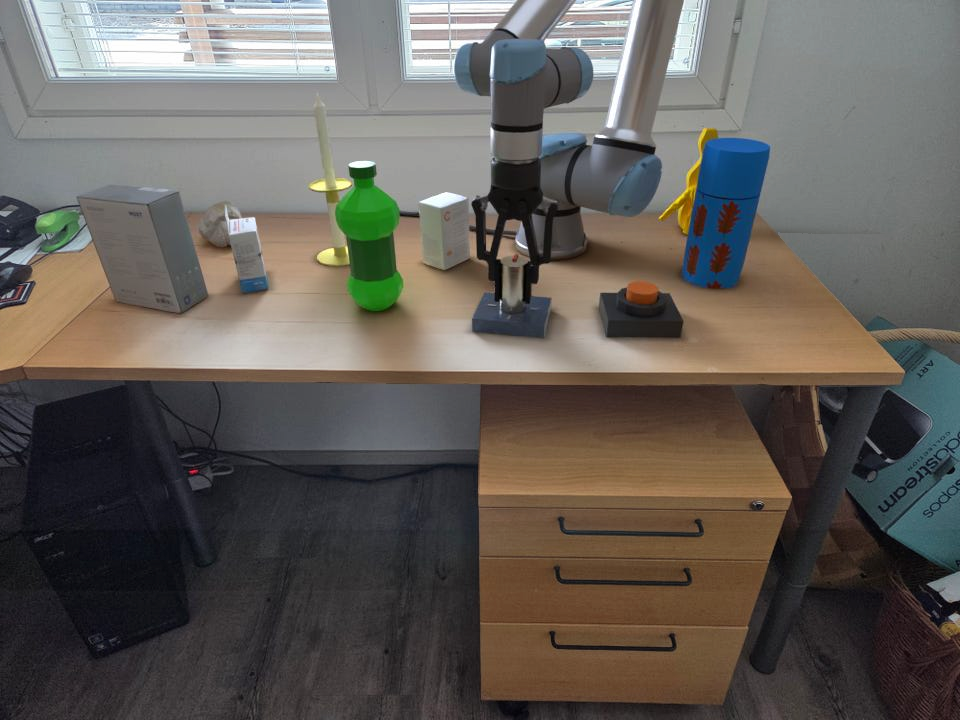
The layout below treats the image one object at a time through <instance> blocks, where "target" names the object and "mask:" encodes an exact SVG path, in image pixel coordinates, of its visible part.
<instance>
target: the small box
mask: <svg viewBox="0 0 960 720" xmlns="http://www.w3.org/2000/svg"><path fill="white" fill-rule="evenodd" d="M469 201H470V200H469V197H467V196H463V195H460V194H456V193H452V192H448V191H445V192H442V193H440V194H437V195H433V196H430V197H429V198H426V199H423V200H420V201H418V212H419V214H420V216H419V226H420V242H421V251H422V252H421V253H422V263H423V264H425V265H428V266H430V267H433V268H436V269H439V270H442V271H446V270H448V269H450V268H453V267H455V266H457V265H459V264H461V263H463V262H465V261H466V260H469V259H471V245H470V243H471V242H470V241H471V240H470V229H469V225H470V206H469V205H470V204H469Z"/></svg>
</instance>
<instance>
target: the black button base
mask: <svg viewBox="0 0 960 720" xmlns="http://www.w3.org/2000/svg"><path fill="white" fill-rule="evenodd" d="M626 293H627V286H626V287H622V288H620V290H619V291H617V292H600V293H599V301H598V312H599V316H600V320H601V323H602V326H603V330H604V333H605V337H606V338H645V339H646V338H647V339H648V338H653V339H654V338H656V339H657V338H659V339H660V338H662V339H669V338H670V339H681V336H682V332H683V327H684V321H685V320H684V318H683V317H682V315H681V313H680V311H679V309H678V307H677V305H676V303H675V301H674V299H673V297H672V295H671V293H670V292H661V291H660V290H658V296H657V301H656V302H655V303H652V304H637V303H633V302H630V301H629V300H627V299H626Z"/></svg>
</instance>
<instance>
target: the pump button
mask: <svg viewBox="0 0 960 720" xmlns="http://www.w3.org/2000/svg"><path fill="white" fill-rule="evenodd" d="M626 287H627V293H626V299H627V300H629V301H630V302H633V303H637V304H652V303H655V302H656V301H657V296H658V291H660V290H659V286H658V285H656V284H655V283H653V282H651V281H645V280H635V281H631V282H629V283H628V284H627V286H626Z"/></svg>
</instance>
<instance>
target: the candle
mask: <svg viewBox="0 0 960 720" xmlns="http://www.w3.org/2000/svg"><path fill="white" fill-rule="evenodd" d="M313 111H314V119H315V126H316V132H317V138H318V146H319V152H320V160H321V166H322V174H323V178H322V179H318V180H314V181H312V182H310V183H309V184H308V189H309V190H310V191H312V192H314V193H315V192H316V193H322V194H323V193H324V194H325V198H326V199H325V200H326V207H327V214H328V219H329V227H330V232H331V239H332V247H330V248H327V249H325V250H322V251H320V252H319V253H318V254H317V255H316V262H318V264H320V265H323V266H328V267H346V266H350V262H349V255H348V247H347V245H346V239H345V234H344V233H343V232H342V231H341V230H340V229H339V227H338V225H337V222H336V218H335V210H336V206H337V204H338V203H339V202H340V196H339V192H344V191H346V190H350V189H351V188H352V186H353V181H352V180H350V179H347V178H341V177H336V176H335V175H336V174H335V168H334V161H333V160H334V159H333V153H332V146H331V137H330V131H329V123H328V117H327V110H326V105H325V103H324V102H323V101H322V99H321V97H320V94H319V91H318V90H316V97H315V103H314V104H313Z"/></svg>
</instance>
